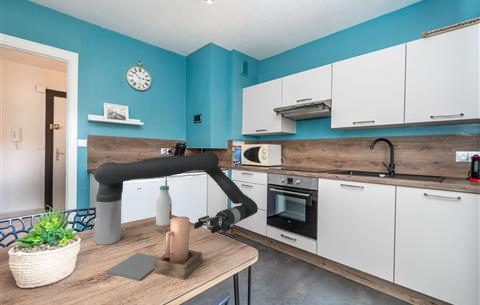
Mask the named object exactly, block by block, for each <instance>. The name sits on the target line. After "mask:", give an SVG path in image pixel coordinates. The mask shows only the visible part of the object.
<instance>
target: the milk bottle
mask: <svg viewBox="0 0 480 305" xmlns="http://www.w3.org/2000/svg"><path fill="white" fill-rule="evenodd" d="M169 190H170V186H169V185H160V186H159V194H158V197H157V200H156V206H155V207H156V208H155V225H156V226H158V227H165V226H169V225H171V219H172V218H173V217H172V214H173V213H172V212H173V211H172V209H173V207H172V206H173V204H172V198H171V196H170V192H169Z"/></svg>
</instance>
